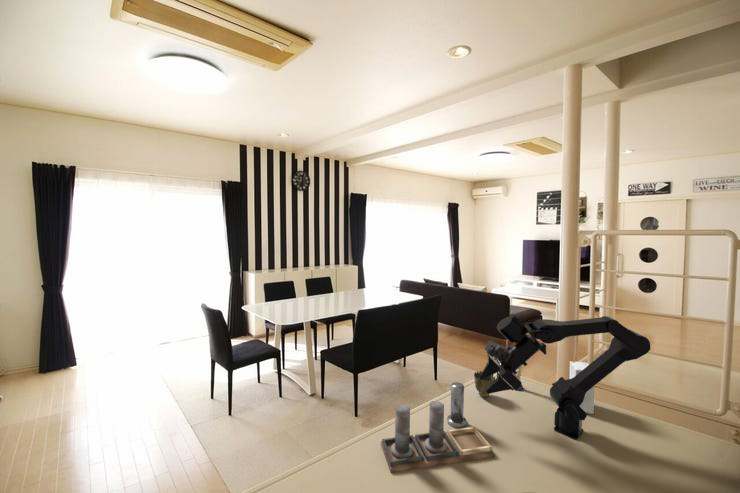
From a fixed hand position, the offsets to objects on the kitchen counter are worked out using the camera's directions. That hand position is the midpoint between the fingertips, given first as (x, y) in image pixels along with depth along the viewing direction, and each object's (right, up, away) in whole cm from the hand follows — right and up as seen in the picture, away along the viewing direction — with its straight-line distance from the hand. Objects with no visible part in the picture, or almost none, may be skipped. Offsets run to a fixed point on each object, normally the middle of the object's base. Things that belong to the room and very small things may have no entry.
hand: (483, 384), depth 105 cm
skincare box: (+38, -13, +12) cm, 41 cm away
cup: (+6, -12, +18) cm, 23 cm away
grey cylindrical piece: (-8, -13, +2) cm, 15 cm away
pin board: (-17, -14, -11) cm, 25 cm away
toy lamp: (+21, -11, +24) cm, 34 cm away
